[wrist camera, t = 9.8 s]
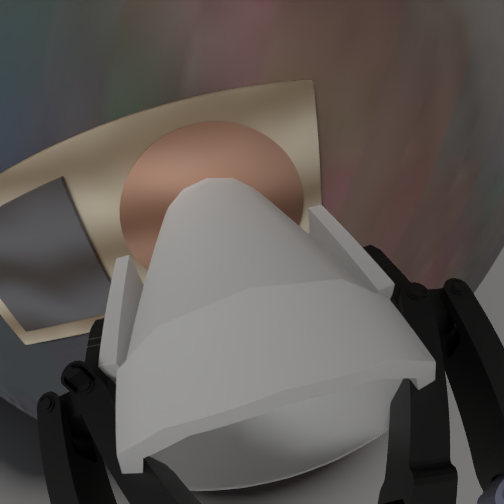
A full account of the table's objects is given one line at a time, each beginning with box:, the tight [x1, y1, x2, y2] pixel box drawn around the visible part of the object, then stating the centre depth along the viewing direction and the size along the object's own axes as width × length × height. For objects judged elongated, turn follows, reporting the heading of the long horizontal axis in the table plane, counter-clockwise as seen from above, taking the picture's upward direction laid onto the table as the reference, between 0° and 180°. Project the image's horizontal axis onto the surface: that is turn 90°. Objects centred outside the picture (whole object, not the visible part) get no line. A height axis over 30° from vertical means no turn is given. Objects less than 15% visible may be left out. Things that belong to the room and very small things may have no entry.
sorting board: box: [0, 80, 322, 345], centre depth 18 cm, size 15×29×1 cm, turn 99°
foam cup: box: [116, 178, 436, 491], centre depth 12 cm, size 10×9×13 cm
